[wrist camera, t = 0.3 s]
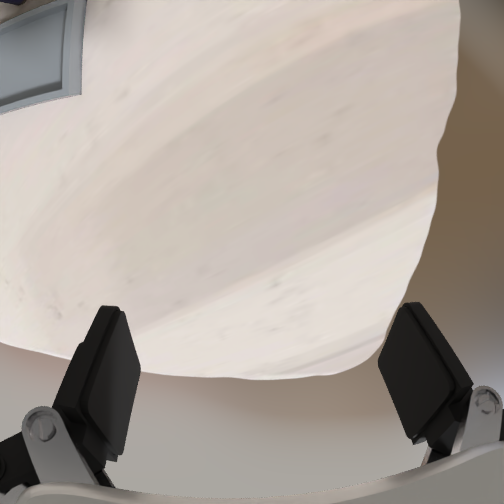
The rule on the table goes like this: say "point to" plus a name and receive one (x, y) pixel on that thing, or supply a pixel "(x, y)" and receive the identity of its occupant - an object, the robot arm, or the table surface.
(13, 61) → the tray
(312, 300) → the table surface
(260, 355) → the table surface
